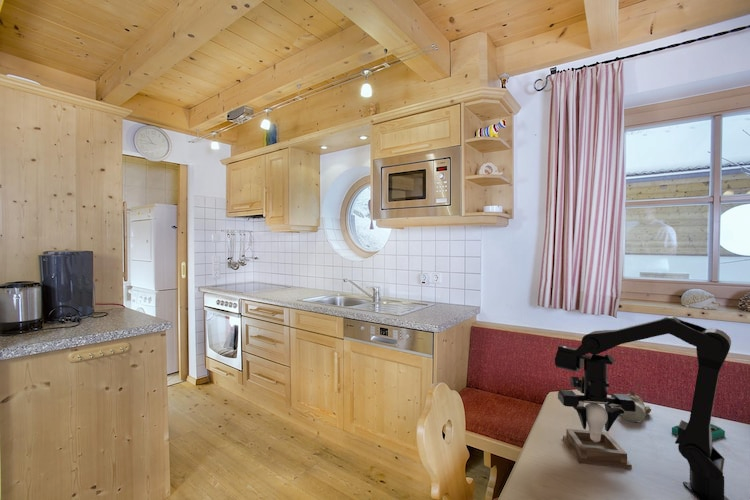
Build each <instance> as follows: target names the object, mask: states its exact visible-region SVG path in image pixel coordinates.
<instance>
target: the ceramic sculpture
mask: <svg viewBox="0 0 750 500" xmlns="http://www.w3.org/2000/svg"><path fill="white" fill-rule="evenodd" d="M625 395H627V396H628V397H629V398H631V399H632V400H633V401H634V402H635V403H636V411H635V412H632V411H624V410H623V409H622V410H623V411H624V414H620V416H622V418H624V419H625V420H627V421H628V422H633V423H641V422H642V421H643V420H645V417H646V415H647V414H650V413H651V411H652V408H651V407H650V406H645V402H644V401H643V399H642V397H640V396H638V395H636V393H634V392H630V393H625Z"/></svg>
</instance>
